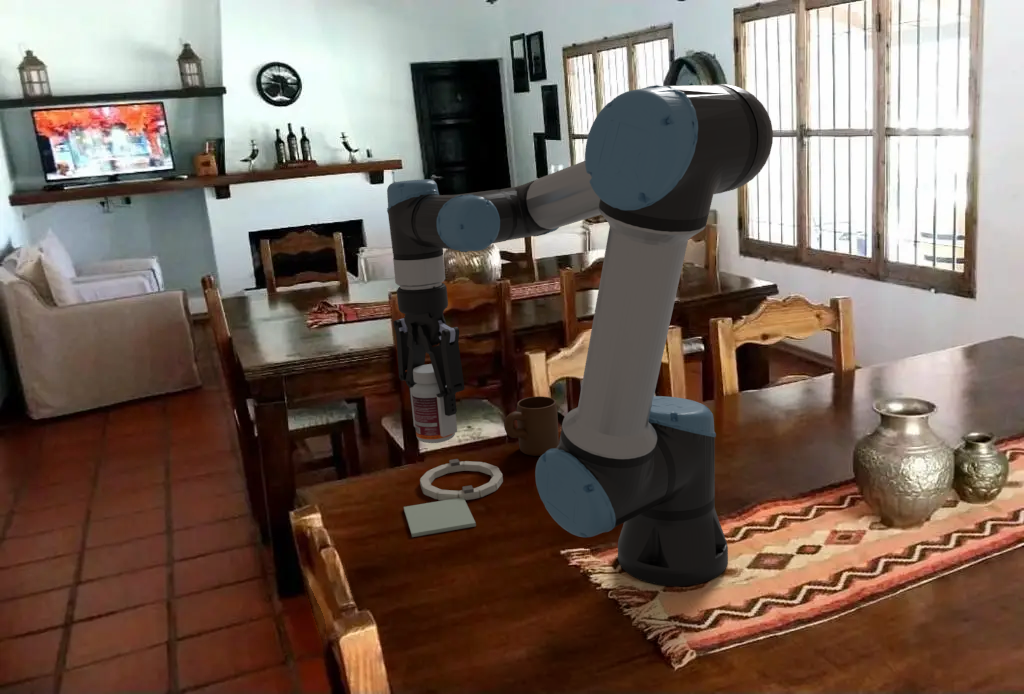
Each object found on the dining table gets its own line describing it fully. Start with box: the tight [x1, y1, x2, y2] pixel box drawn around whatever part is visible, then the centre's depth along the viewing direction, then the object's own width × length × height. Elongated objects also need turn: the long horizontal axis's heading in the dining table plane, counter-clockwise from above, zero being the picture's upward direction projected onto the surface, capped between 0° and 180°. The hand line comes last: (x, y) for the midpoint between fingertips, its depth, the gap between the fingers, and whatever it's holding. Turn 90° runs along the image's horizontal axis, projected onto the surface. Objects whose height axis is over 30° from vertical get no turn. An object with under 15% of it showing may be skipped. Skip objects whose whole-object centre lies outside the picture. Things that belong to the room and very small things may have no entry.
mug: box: [503, 396, 560, 457], centre depth 162 cm, size 12×8×9 cm, turn 134°
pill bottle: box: [412, 363, 456, 444], centre depth 135 cm, size 6×6×11 cm
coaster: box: [403, 497, 477, 538], centre depth 139 cm, size 10×10×1 cm
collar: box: [419, 458, 504, 501], centre depth 151 cm, size 14×14×2 cm
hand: (435, 429), depth 136 cm, fingers closed on pill bottle, 6 cm apart
